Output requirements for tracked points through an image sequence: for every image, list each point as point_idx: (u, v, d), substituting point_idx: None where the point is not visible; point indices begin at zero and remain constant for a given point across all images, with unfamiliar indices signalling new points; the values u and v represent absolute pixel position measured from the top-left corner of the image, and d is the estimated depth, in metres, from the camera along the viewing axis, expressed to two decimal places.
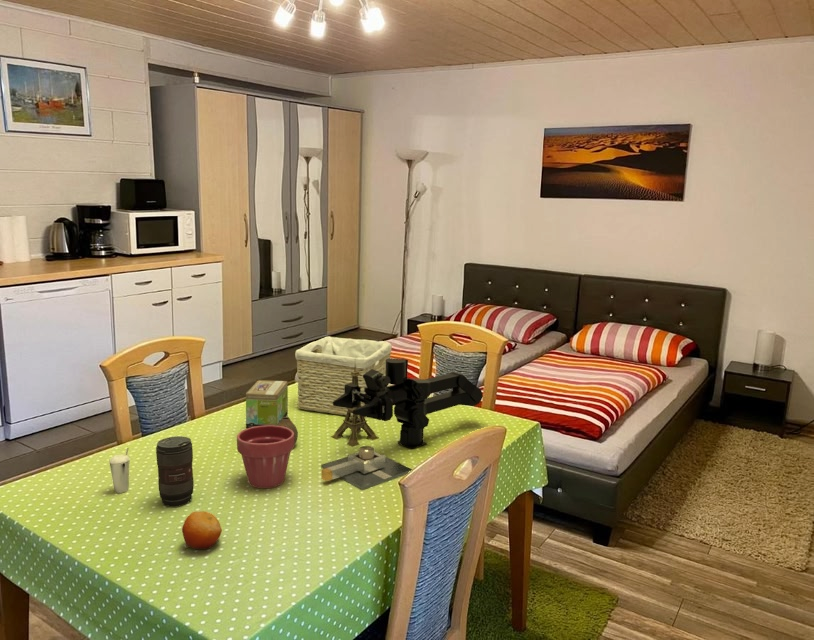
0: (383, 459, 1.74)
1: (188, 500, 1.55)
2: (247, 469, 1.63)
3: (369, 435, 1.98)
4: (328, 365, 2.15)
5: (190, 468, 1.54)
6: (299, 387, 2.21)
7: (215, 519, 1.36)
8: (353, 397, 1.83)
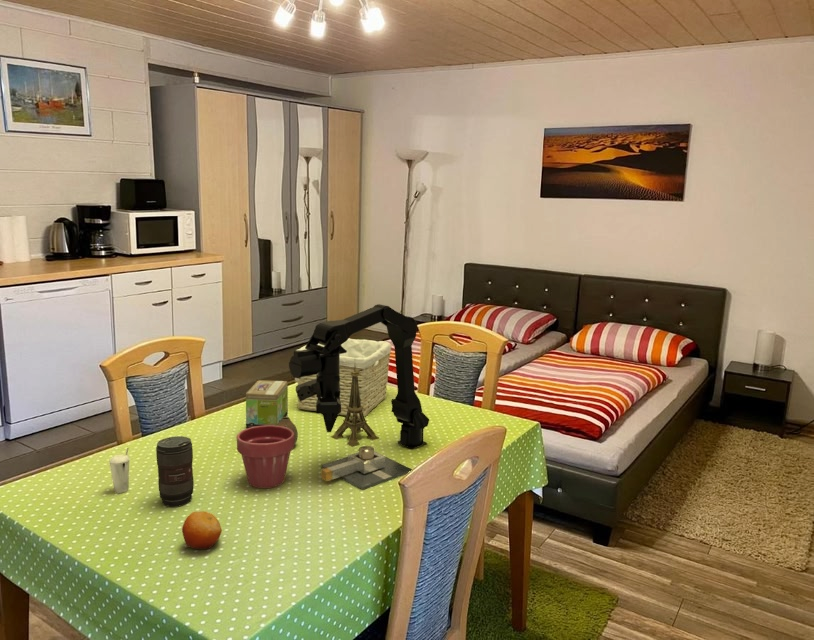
0: (383, 459, 1.74)
1: (188, 500, 1.55)
2: (247, 469, 1.63)
3: (369, 435, 1.98)
4: None
5: (190, 468, 1.54)
6: None
7: (215, 519, 1.36)
8: None
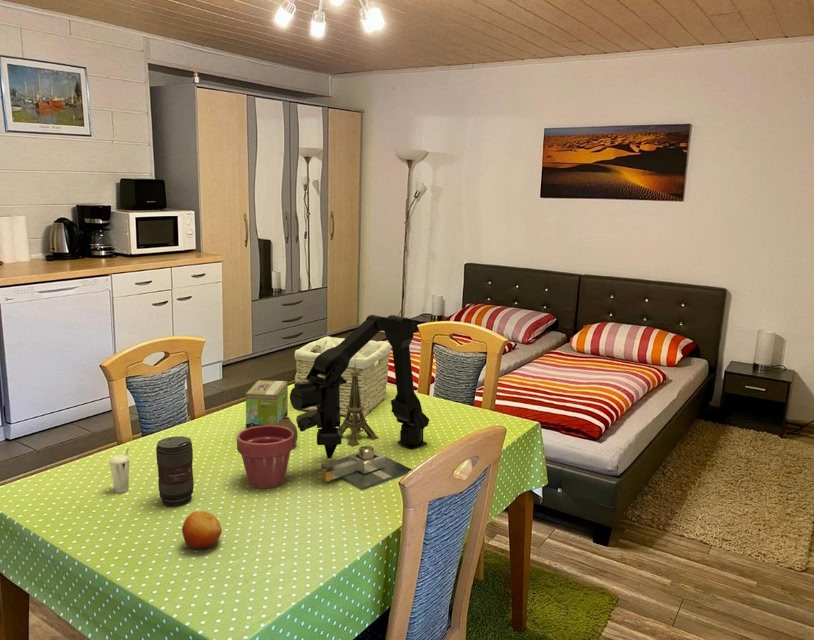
0: (383, 459, 1.74)
1: (188, 500, 1.55)
2: (247, 469, 1.63)
3: (369, 435, 1.98)
4: None
5: (190, 468, 1.54)
6: None
7: (215, 519, 1.36)
8: None
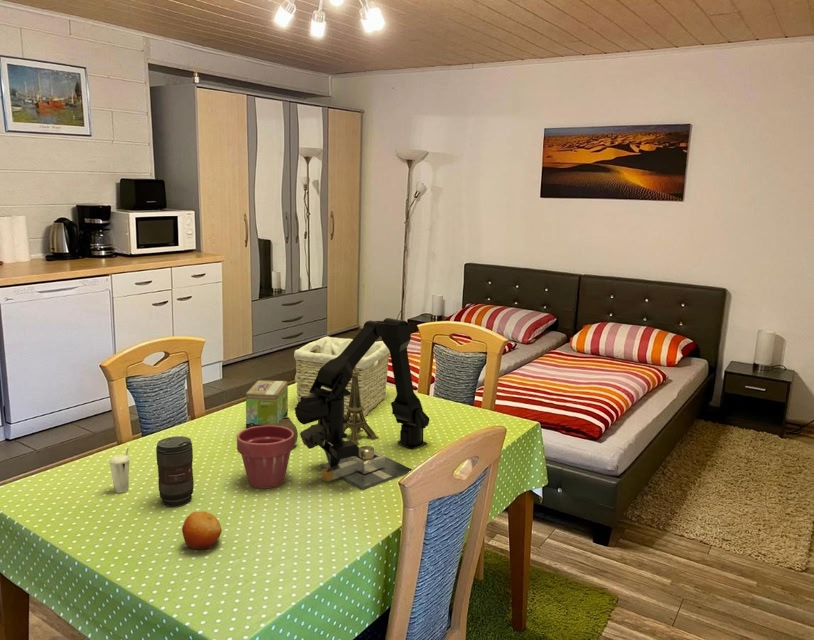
0: (383, 459, 1.74)
1: (188, 500, 1.55)
2: (247, 469, 1.63)
3: (369, 435, 1.98)
4: None
5: (190, 468, 1.54)
6: (298, 387, 2.21)
7: (215, 519, 1.36)
8: None
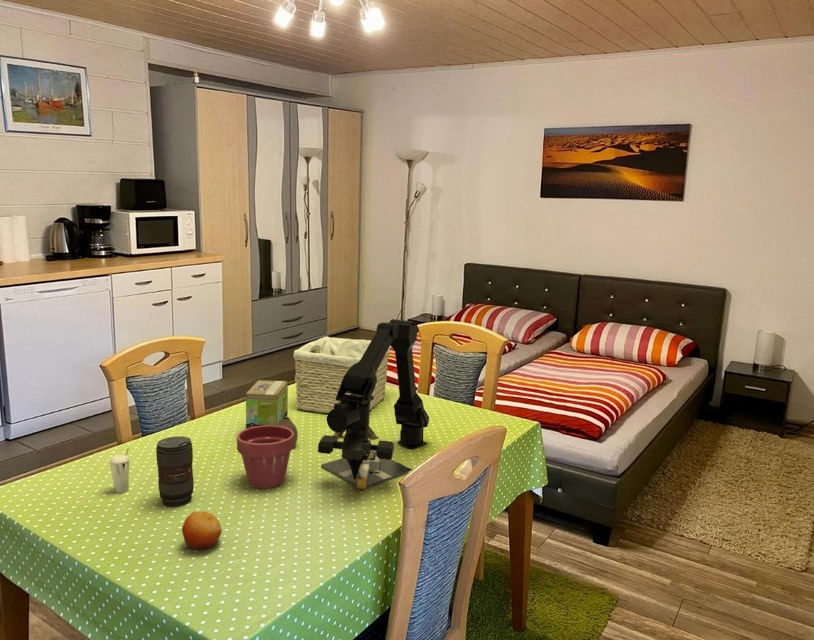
0: None
1: (188, 500, 1.55)
2: (247, 469, 1.63)
3: (369, 435, 1.98)
4: (327, 365, 2.15)
5: (190, 468, 1.54)
6: (297, 387, 2.20)
7: (215, 519, 1.36)
8: None
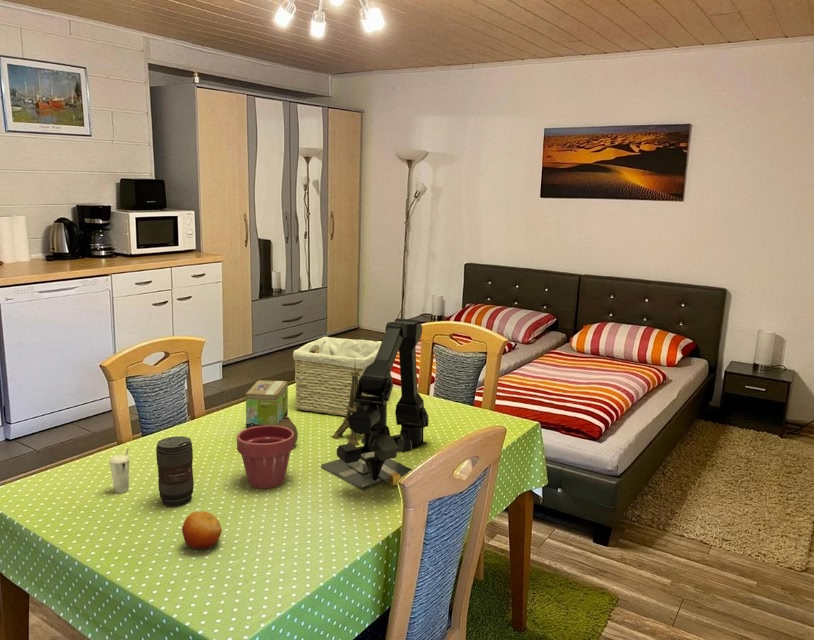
0: None
1: (188, 500, 1.55)
2: (247, 469, 1.63)
3: None
4: (326, 365, 2.15)
5: (190, 468, 1.54)
6: (297, 387, 2.20)
7: (215, 519, 1.36)
8: None
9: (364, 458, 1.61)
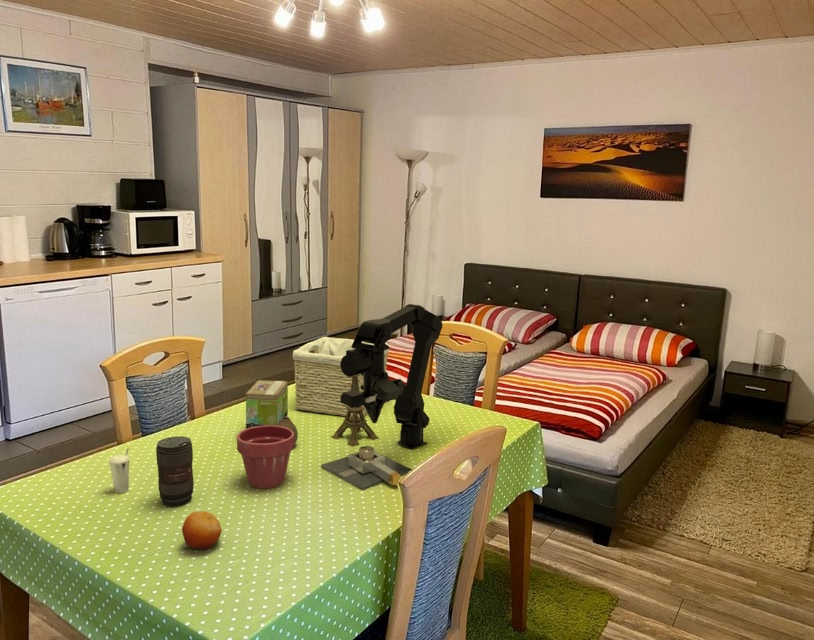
0: None
1: (188, 500, 1.55)
2: (247, 469, 1.63)
3: (369, 435, 1.98)
4: (326, 365, 2.15)
5: (190, 468, 1.54)
6: (297, 388, 2.20)
7: (215, 519, 1.36)
8: None
9: (366, 402, 1.73)
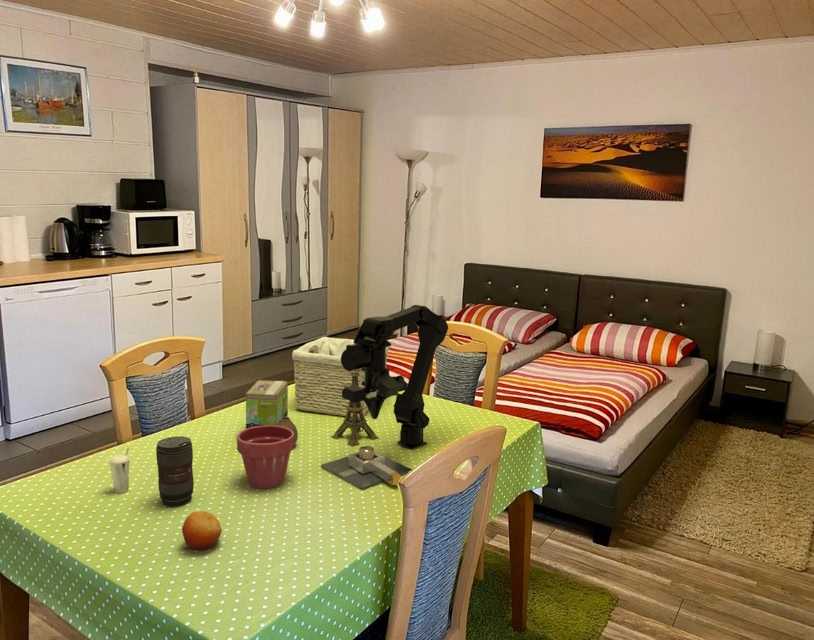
0: None
1: (188, 500, 1.55)
2: (247, 469, 1.63)
3: (369, 435, 1.98)
4: (325, 365, 2.15)
5: (190, 468, 1.54)
6: (296, 388, 2.20)
7: (215, 519, 1.36)
8: None
9: (367, 398, 1.75)
